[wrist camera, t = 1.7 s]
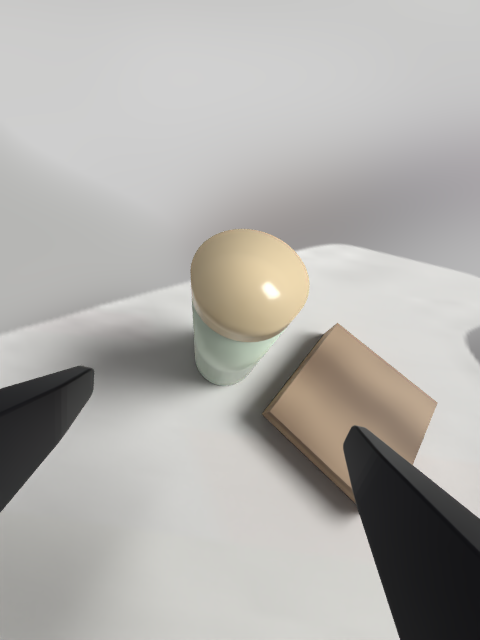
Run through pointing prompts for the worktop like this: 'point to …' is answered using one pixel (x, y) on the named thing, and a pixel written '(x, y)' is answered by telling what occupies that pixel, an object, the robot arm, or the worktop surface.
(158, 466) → the worktop surface
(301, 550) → the worktop surface
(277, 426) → the base
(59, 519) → the worktop surface
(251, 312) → the cream-capped mint cylinder
